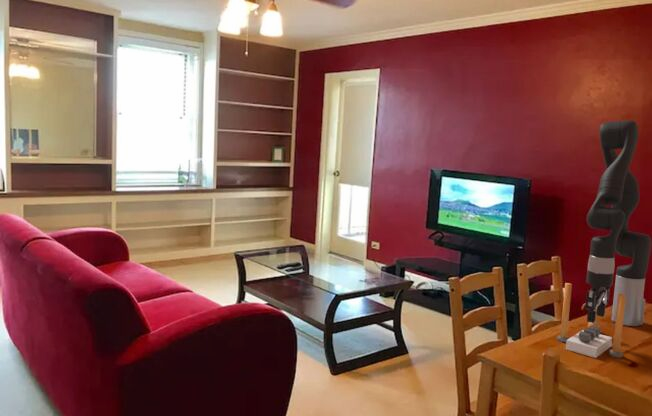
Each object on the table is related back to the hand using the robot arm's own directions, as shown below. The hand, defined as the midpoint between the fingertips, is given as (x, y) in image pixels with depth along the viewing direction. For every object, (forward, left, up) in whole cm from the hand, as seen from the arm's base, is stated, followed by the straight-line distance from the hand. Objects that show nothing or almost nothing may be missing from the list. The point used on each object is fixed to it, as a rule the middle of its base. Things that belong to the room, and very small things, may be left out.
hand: (595, 319), depth 176 cm
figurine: (-5, -11, -9) cm, 15 cm away
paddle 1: (+6, +6, -5) cm, 9 cm away
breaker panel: (+3, +3, -9) cm, 9 cm away
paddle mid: (+3, +3, -5) cm, 6 cm away
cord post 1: (+9, -3, -9) cm, 12 cm away
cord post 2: (-3, +9, -9) cm, 12 cm away
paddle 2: (0, 0, -5) cm, 5 cm away
